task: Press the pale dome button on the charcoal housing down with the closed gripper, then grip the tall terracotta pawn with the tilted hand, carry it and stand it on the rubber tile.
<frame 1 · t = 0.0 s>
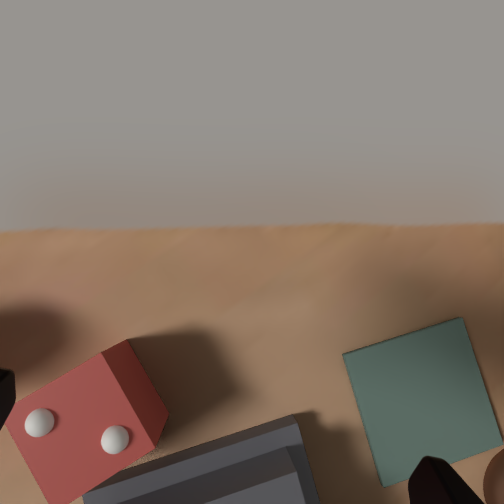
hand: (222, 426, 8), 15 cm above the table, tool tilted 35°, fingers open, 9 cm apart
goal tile: (421, 398, 24), on the table
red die: (109, 399, 22), on the table
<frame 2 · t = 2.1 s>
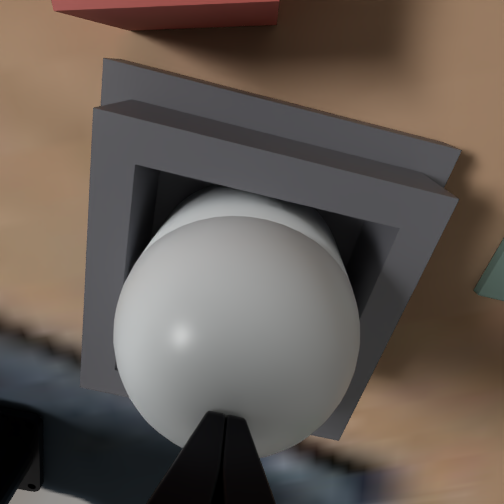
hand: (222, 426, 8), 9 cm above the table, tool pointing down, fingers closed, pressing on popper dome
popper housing: (248, 248, 16), on the table
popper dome: (238, 326, 11), point 6 cm above the table, slide at 1.0 cm, touching gripper
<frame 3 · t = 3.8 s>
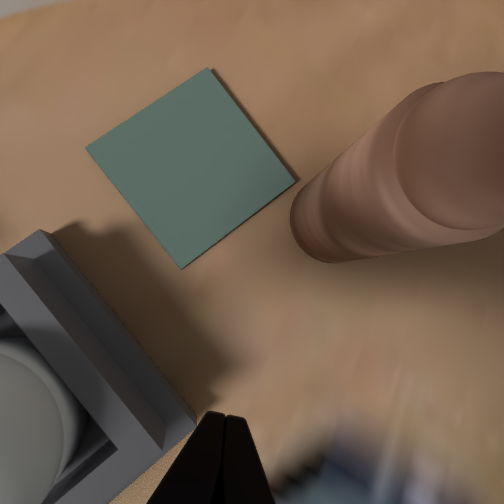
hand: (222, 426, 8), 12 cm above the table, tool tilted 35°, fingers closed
terracotta pawn: (332, 219, 22), on the table
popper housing: (21, 405, 19), on the table
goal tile: (194, 167, 21), on the table
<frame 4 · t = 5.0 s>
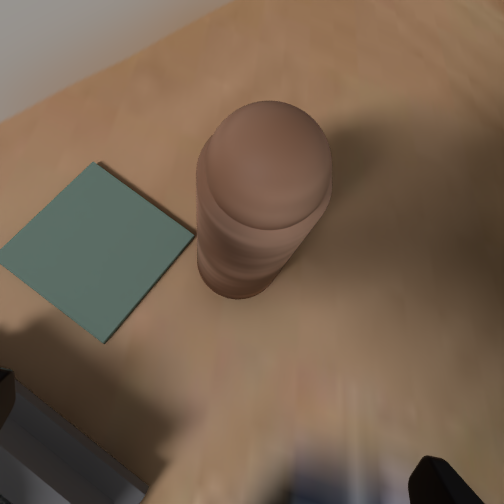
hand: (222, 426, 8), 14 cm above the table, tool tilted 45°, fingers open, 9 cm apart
terracotta pawn: (237, 259, 24), on the table
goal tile: (99, 247, 23), on the table
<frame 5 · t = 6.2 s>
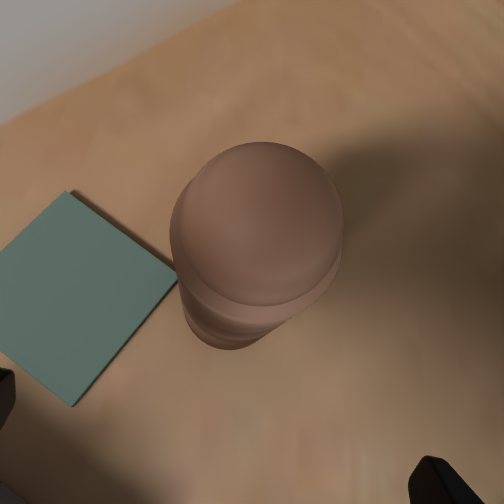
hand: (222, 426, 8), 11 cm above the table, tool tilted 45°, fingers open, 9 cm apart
terracotta pawn: (229, 302, 21), on the table
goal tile: (70, 291, 20), on the table
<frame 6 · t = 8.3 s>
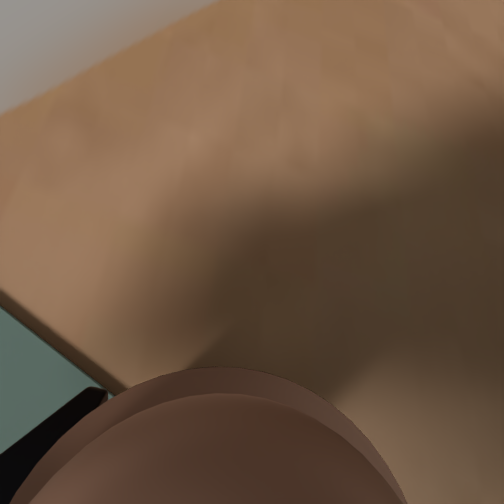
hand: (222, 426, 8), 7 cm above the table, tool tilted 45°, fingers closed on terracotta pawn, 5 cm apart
terracotta pawn: (203, 445, 14), on the table, touching gripper
when the fingers open (8 cm above the table, at t = 12.0 s): terracotta pawn drops 1 cm, resting on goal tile.
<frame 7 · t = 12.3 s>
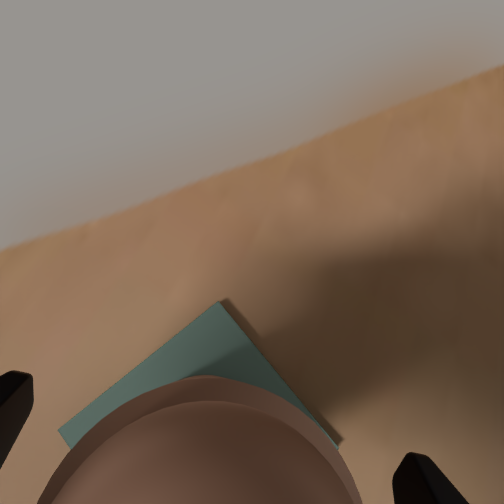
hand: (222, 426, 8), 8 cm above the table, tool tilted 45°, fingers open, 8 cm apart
terracotta pawn: (202, 440, 15), resting on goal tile
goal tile: (203, 437, 16), on the table
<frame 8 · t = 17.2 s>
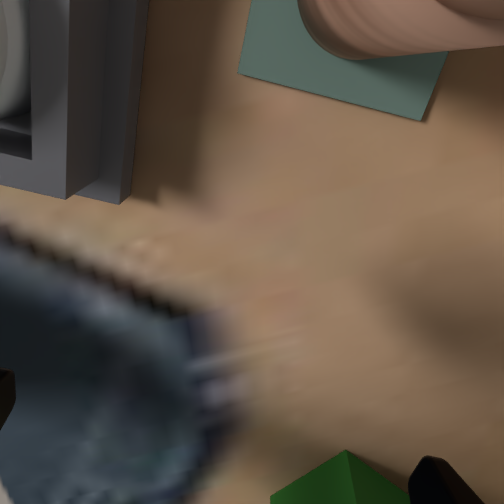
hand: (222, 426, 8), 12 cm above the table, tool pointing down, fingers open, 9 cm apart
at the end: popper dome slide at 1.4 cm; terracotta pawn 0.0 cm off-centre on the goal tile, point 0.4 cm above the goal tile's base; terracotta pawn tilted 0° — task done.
